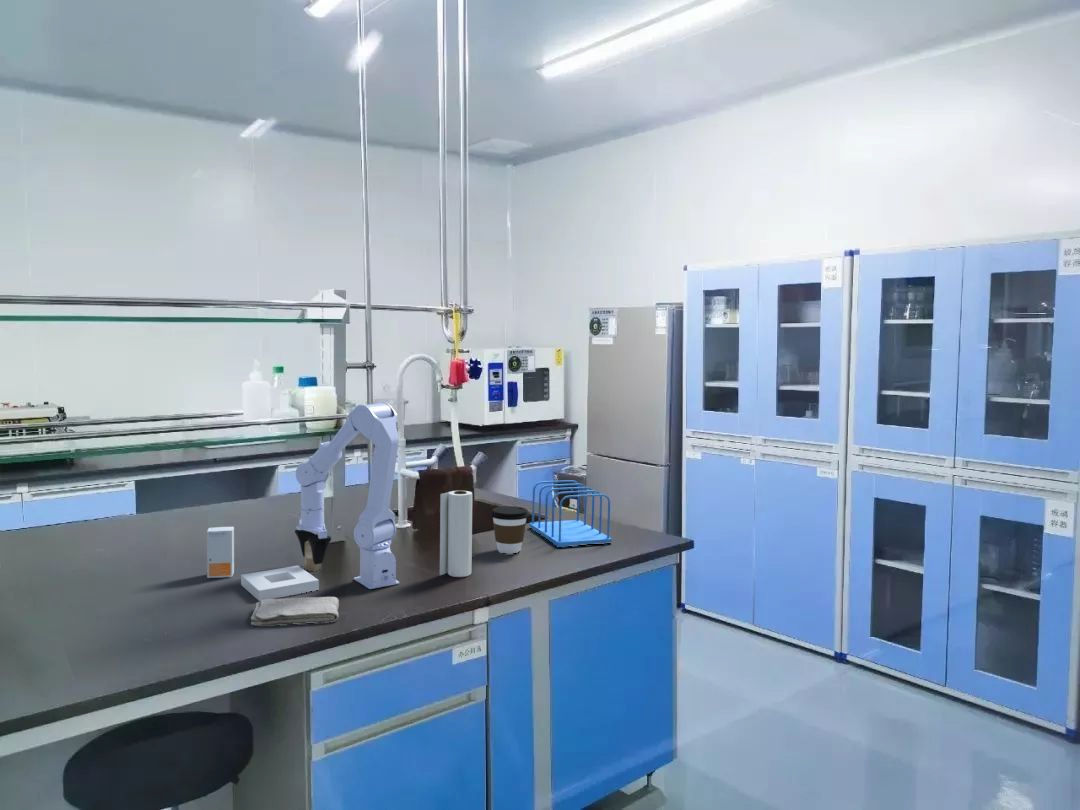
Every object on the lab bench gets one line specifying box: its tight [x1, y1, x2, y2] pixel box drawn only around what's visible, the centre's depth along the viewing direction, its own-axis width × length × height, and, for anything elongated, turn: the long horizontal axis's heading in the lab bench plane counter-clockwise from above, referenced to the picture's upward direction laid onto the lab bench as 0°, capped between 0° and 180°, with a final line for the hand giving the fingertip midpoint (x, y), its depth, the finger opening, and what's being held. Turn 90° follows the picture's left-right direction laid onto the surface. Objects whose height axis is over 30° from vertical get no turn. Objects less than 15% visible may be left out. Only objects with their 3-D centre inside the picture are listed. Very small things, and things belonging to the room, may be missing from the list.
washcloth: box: [250, 596, 340, 627], centre depth 172 cm, size 12×18×3 cm, turn 103°
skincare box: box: [206, 526, 235, 579], centre depth 198 cm, size 6×4×12 cm
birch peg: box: [304, 541, 322, 572], centre depth 205 cm, size 4×4×7 cm
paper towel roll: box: [439, 490, 473, 578], centre depth 202 cm, size 7×6×21 cm
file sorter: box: [528, 479, 613, 548], centre depth 243 cm, size 25×17×15 cm
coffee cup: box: [490, 505, 530, 554], centre depth 224 cm, size 11×11×12 cm
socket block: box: [240, 565, 320, 602], centre depth 190 cm, size 14×14×2 cm
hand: (312, 559), depth 205 cm, fingers open, 7 cm apart
